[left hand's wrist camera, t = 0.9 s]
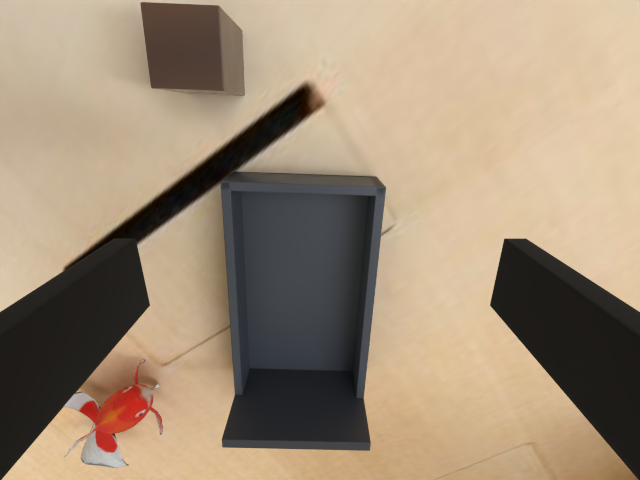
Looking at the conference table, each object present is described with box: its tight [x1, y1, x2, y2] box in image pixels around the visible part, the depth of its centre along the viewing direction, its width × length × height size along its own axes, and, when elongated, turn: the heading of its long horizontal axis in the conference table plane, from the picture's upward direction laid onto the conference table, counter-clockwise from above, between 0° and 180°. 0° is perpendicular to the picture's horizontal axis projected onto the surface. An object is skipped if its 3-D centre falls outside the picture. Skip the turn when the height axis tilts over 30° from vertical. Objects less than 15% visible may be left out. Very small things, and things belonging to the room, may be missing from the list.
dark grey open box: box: [221, 172, 386, 451], centre depth 32 cm, size 24×14×10 cm, turn 178°
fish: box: [64, 360, 163, 468], centre depth 38 cm, size 11×16×10 cm
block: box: [141, 2, 245, 95], centre depth 26 cm, size 5×5×7 cm
